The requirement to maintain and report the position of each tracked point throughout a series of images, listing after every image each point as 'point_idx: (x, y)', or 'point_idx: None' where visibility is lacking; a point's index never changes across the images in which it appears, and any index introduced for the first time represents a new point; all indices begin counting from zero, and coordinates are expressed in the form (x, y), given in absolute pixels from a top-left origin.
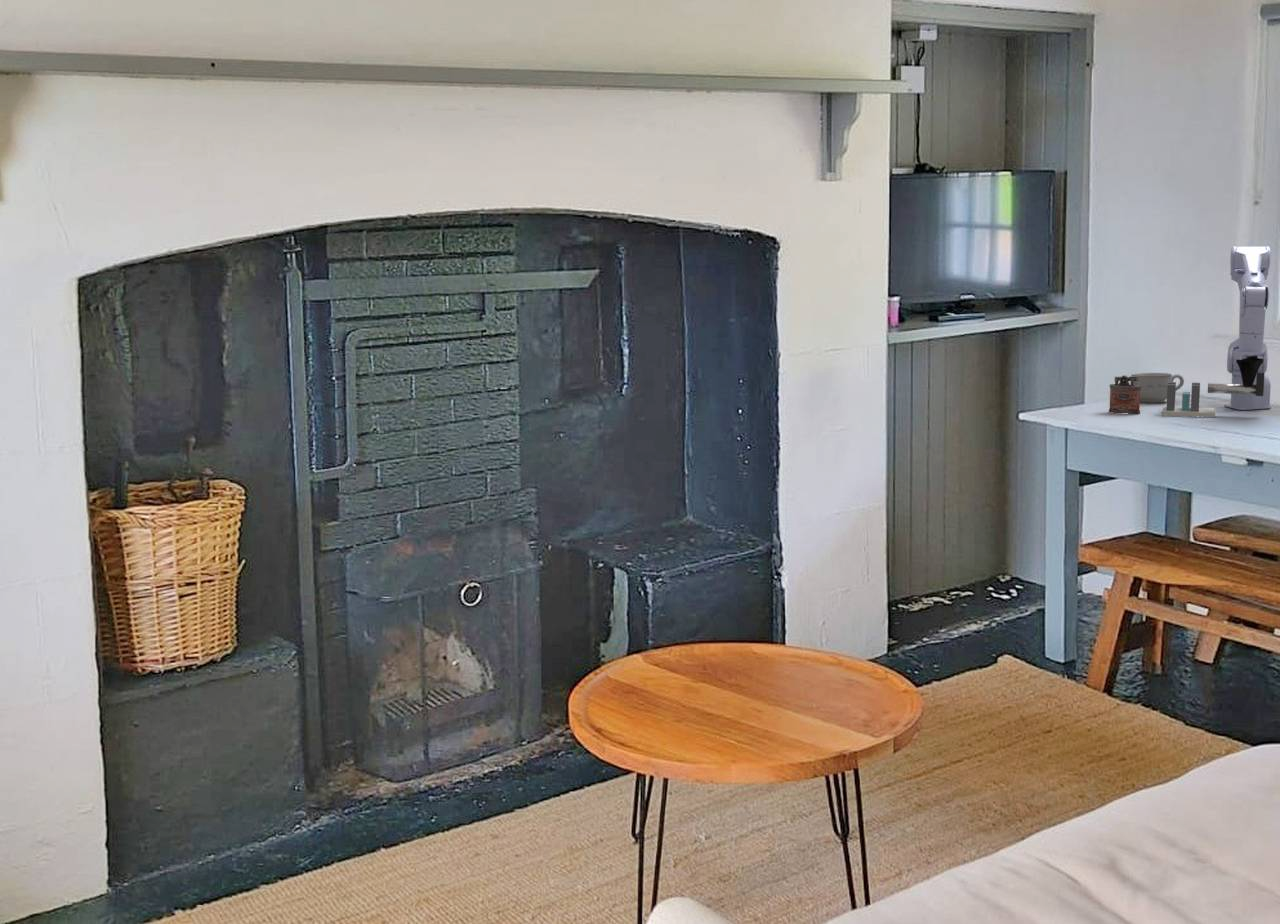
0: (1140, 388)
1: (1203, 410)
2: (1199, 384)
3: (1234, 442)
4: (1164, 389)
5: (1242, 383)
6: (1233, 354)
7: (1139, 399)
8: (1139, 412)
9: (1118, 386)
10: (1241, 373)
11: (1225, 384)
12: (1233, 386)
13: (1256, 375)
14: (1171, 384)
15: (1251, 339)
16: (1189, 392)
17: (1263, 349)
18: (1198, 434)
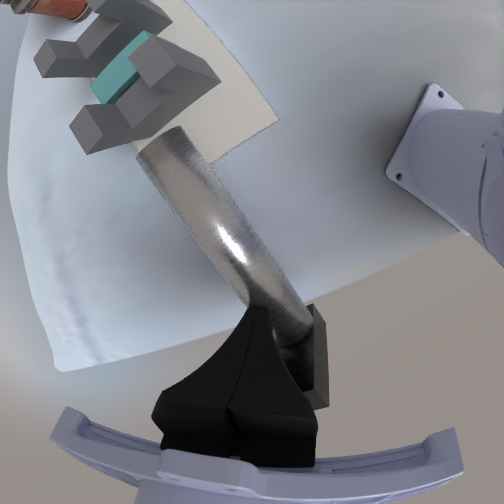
0: (27, 10)
1: (186, 129)
2: (151, 86)
3: (50, 337)
4: None
5: (458, 193)
6: (55, 426)
7: (53, 12)
8: (80, 19)
9: None
10: (221, 347)
11: (197, 232)
12: (216, 268)
13: (501, 264)
14: (46, 54)
15: None
16: None
17: (439, 482)
18: (33, 281)
